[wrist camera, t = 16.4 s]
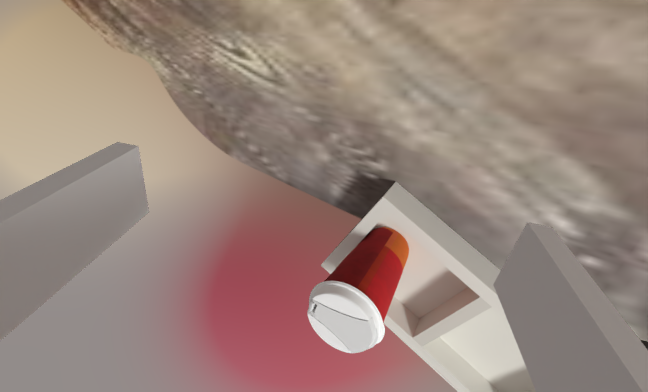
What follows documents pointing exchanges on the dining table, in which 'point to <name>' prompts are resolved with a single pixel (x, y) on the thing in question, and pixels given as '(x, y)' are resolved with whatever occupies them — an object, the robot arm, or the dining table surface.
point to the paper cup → (359, 292)
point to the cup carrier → (444, 299)
